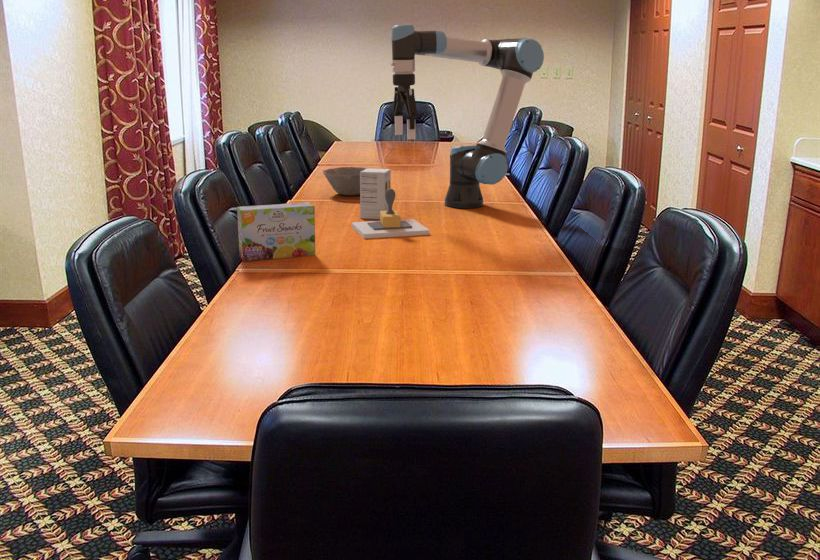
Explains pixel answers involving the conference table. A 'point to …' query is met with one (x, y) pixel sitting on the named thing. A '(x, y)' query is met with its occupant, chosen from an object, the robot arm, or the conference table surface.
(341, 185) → the ceramic bowl
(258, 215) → the snack box
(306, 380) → the conference table surface
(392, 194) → the rubber stamp
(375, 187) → the supplement box
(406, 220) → the pad
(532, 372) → the conference table surface
